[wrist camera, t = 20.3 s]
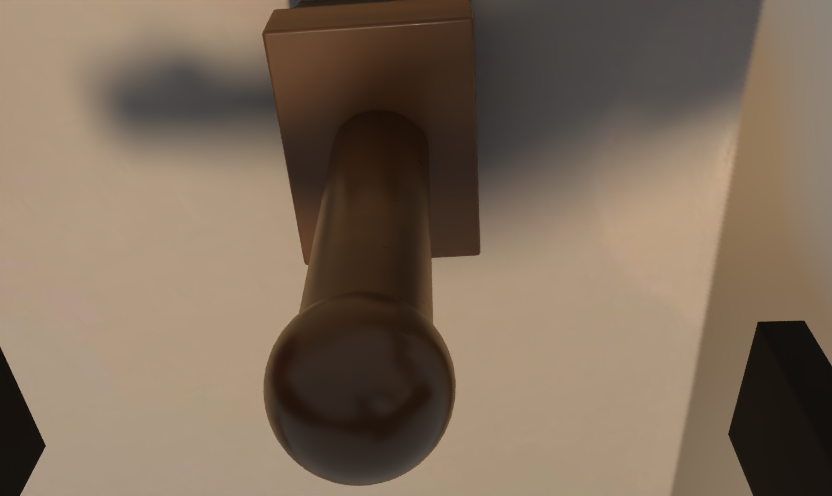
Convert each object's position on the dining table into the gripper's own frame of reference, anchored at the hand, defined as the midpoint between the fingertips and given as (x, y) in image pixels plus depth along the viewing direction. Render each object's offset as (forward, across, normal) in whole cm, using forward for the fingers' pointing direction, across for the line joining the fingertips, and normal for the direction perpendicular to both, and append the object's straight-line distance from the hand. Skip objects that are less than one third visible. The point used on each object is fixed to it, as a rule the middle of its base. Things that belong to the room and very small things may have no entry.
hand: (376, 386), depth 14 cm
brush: (+14, -1, -1) cm, 14 cm away
